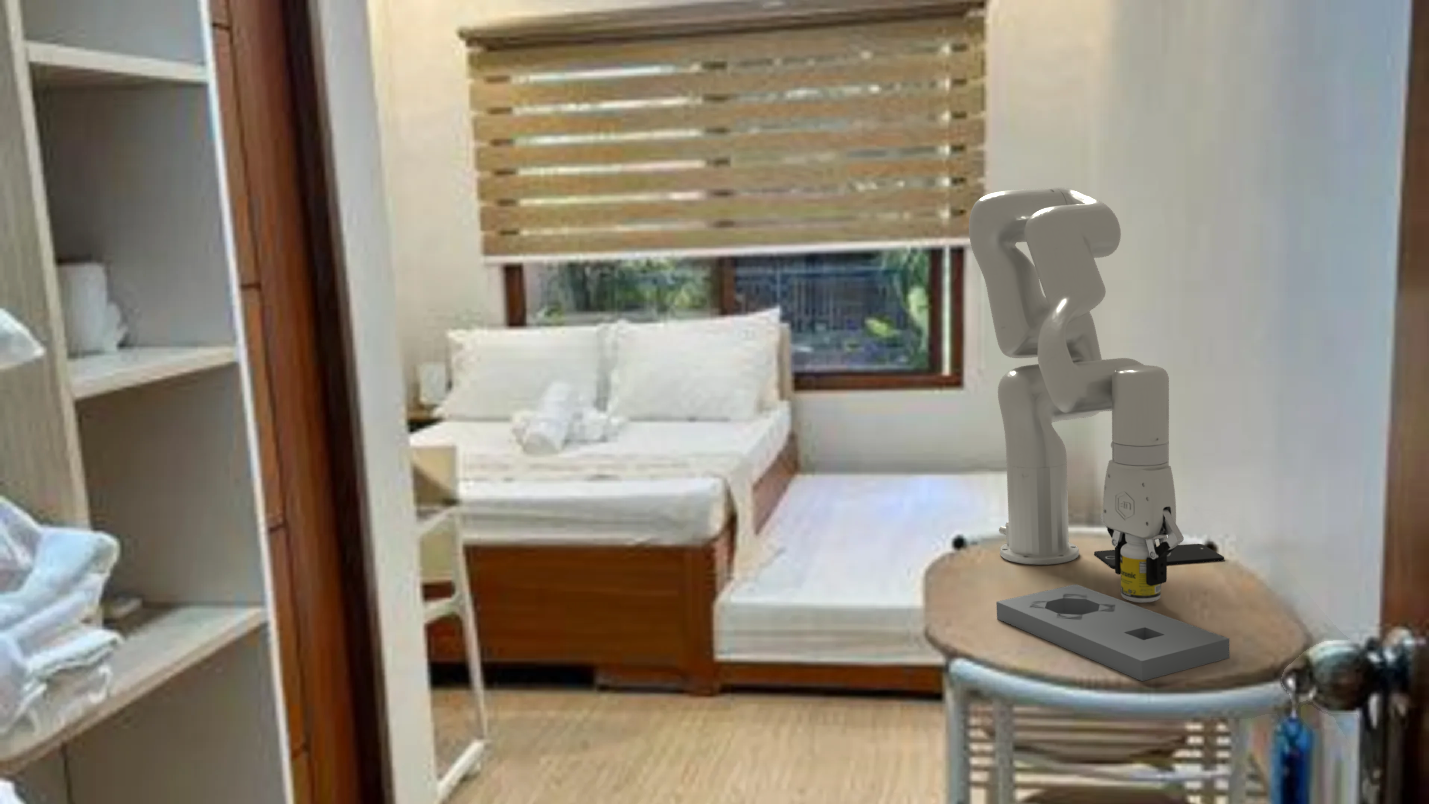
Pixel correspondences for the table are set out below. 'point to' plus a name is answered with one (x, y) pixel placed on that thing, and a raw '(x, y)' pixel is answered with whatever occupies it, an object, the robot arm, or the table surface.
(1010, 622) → the socket plate
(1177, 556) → the cell phone
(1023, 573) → the table surface
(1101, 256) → the robot arm
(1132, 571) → the supplement bottle
